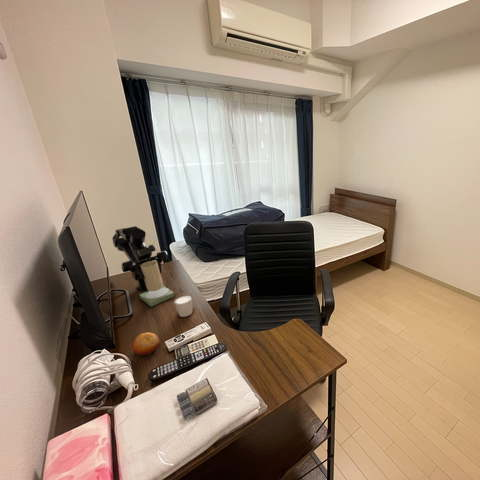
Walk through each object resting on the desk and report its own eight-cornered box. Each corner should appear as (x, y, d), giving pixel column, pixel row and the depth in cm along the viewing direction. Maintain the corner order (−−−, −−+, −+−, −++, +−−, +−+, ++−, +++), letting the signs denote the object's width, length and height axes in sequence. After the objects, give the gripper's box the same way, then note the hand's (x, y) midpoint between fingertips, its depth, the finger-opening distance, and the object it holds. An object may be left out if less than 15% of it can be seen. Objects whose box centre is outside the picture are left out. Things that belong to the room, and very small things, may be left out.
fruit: (139, 339, 97) (145, 325, 95) (158, 348, 99) (165, 334, 96) (123, 356, 90) (129, 341, 87) (144, 365, 91) (151, 350, 88)
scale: (140, 298, 126) (139, 293, 125) (163, 288, 134) (162, 284, 133) (150, 306, 119) (149, 301, 118) (174, 296, 128) (173, 291, 127)
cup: (143, 290, 122) (136, 266, 117) (155, 283, 128) (149, 260, 124) (155, 292, 121) (148, 268, 116) (166, 285, 127) (160, 261, 122)
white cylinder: (197, 308, 118) (194, 296, 115) (188, 318, 112) (185, 304, 109) (183, 307, 119) (180, 295, 116) (174, 317, 112) (170, 304, 110)
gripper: (116, 246, 111) (130, 276, 109) (162, 235, 125) (176, 262, 122) (116, 258, 119) (130, 286, 116) (159, 246, 132) (172, 271, 130)
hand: (153, 275), depth 121 cm, fingers closed on cup, 7 cm apart
